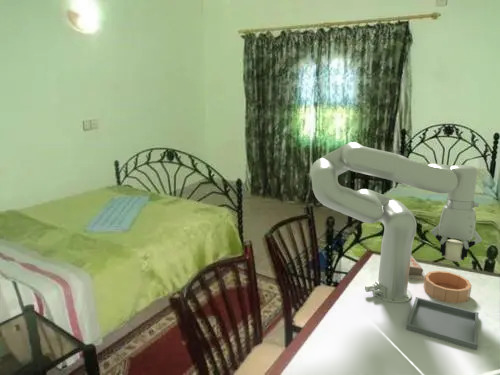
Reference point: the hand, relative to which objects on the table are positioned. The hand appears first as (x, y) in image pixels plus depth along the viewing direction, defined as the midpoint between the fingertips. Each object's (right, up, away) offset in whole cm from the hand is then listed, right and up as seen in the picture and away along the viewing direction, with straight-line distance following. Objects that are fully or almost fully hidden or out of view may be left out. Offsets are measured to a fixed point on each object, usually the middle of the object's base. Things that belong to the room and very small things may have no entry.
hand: (453, 256), depth 127 cm
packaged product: (-5, -10, +26) cm, 28 cm away
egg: (0, -1, 0) cm, 1 cm away
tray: (-9, -19, -11) cm, 23 cm away
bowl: (+1, -14, +7) cm, 16 cm away
